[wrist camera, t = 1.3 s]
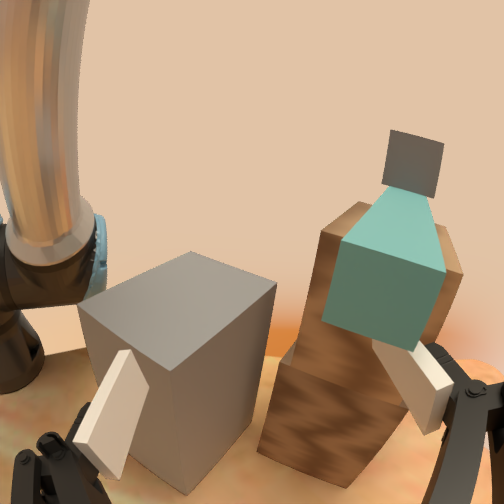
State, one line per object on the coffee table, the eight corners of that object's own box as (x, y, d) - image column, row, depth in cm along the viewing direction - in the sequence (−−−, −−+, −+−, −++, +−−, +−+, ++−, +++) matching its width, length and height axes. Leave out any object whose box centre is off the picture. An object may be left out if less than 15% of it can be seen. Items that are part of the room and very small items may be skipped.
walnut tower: (256, 451, 31) (307, 226, 20) (302, 385, 43) (350, 199, 32) (346, 488, 26) (476, 279, 15) (374, 412, 38) (453, 229, 27)
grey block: (120, 447, 28) (76, 304, 20) (190, 387, 40) (190, 251, 32) (186, 496, 24) (170, 371, 16) (251, 420, 36) (277, 282, 28)
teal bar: (301, 313, 11) (342, 75, 8) (380, 207, 30) (393, 133, 27) (432, 358, 9) (505, 115, 6) (424, 220, 28) (439, 145, 25)
